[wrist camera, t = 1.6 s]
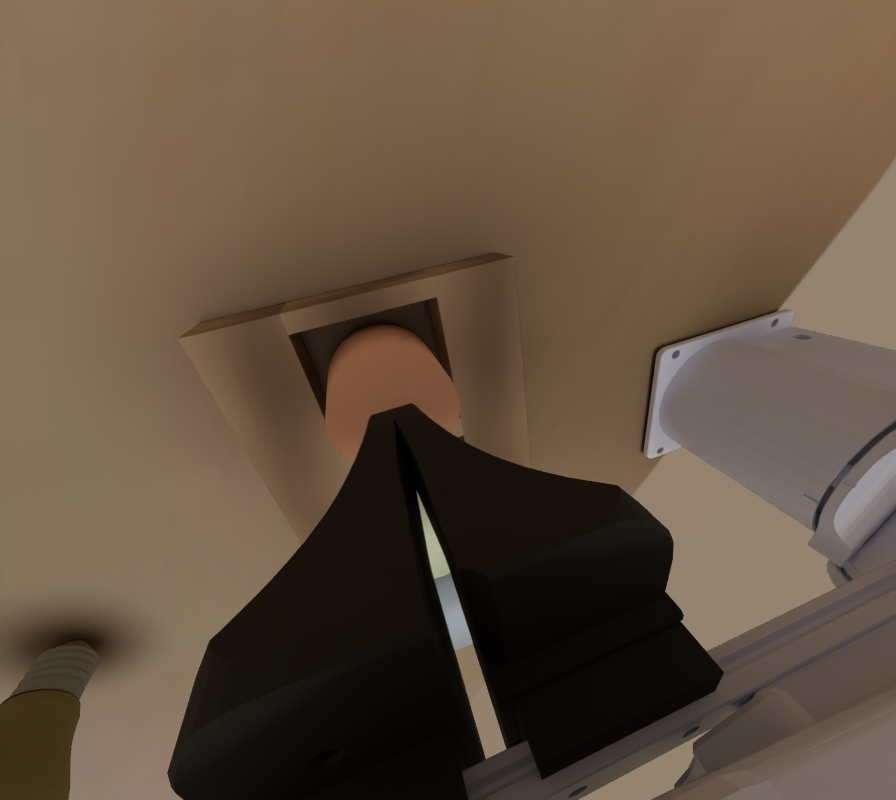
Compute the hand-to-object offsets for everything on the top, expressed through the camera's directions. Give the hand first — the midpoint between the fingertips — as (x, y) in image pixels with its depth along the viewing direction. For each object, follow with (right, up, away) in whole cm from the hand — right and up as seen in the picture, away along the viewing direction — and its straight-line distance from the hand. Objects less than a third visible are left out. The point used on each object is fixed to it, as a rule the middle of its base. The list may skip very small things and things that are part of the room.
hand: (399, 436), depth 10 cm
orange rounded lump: (-1, +2, +4) cm, 5 cm away
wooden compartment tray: (0, -3, +9) cm, 9 cm away
